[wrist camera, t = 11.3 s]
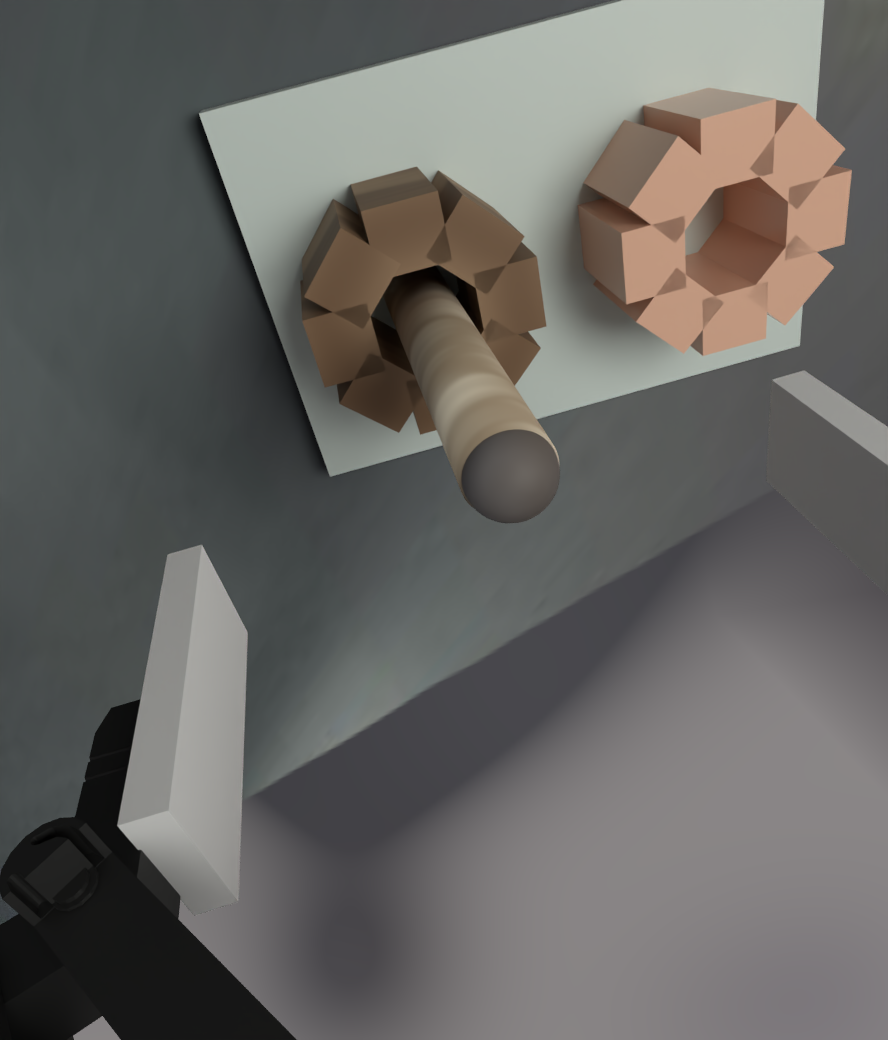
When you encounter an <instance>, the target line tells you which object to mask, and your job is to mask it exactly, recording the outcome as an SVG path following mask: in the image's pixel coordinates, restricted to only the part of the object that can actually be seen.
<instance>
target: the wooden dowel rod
mask: <svg viewBox="0 0 888 1040" xmlns="http://www.w3.org/2000/svg"><path fill="white" fill-rule="evenodd" d="M383 297H384V300H385V302H386V305H387V307H388V310H389V312H390V315H391V317H392V320H393V322H394V325H395V327H396V330H397V332H398V335H399V337H400V340H401V342H402V345H403V347H404V350H405V352H406V355H407V357H408V360H409V362H410V365H411V367H412V370H413V372H414V375H415V377H416V380H417V382H418V385H419V387H420V390H421V392H422V395H423V397H424V400H425V402H426V405H427V407H428V410H429V412H430V415H431V417H432V420H433V422H434V425H435V427H436V430H437V432H438V435H439V437H440V439H441V442H442V444H443V447H444V449H445V452H446V454H447V457H448V459H449V462H450V464H451V467H452V469H453V472H454V474H455V477H456V479H457V482H458V484H459V487H460V489H461V492H462V494H463V496H464V498H465V500H466V501H467V502H468V503H469V504H470V505H471V506H472V507H473V508H474V509H476V510H477V511H478V512H479V513H480V514H482V515H483V516H485V517H487V518H488V519H491V520H494V521H497V522H501V523H519V522H523V521H526V520H529V519H531V518H533V517H535V516H537V515H538V514H540V513H541V512H542V511H543V510H544V509H545V508H546V507H547V506H548V505H549V504H550V502H551V501H552V499H553V498H554V496H555V494H556V491H557V488H558V485H559V479H560V467H559V458H558V454H557V451H556V449H555V447H554V445H553V444H552V442H551V441H550V439H549V438H548V436H547V434H546V433H545V431H544V430H543V428H542V427H541V425H540V424H539V422H538V421H537V419H536V418H535V416H534V415H533V413H532V412H531V410H530V409H529V407H528V406H527V404H526V403H525V401H524V400H523V398H522V396H521V395H520V393H519V392H518V390H517V389H516V387H515V386H514V384H513V383H512V381H511V380H510V378H509V377H508V375H507V374H506V372H505V371H504V369H503V368H502V366H501V365H500V363H499V362H498V360H497V358H496V357H495V355H494V354H493V352H492V351H491V349H490V348H489V346H488V345H487V343H486V342H485V340H484V339H483V337H482V336H481V334H480V333H479V331H478V330H477V328H476V327H475V325H474V324H473V322H472V320H471V319H470V317H469V316H468V314H467V313H466V311H465V310H464V308H463V307H462V305H461V304H460V302H459V301H458V299H457V298H456V296H455V295H454V293H453V292H452V290H451V289H450V287H449V286H448V284H447V282H446V281H445V279H444V278H443V276H442V275H441V273H440V272H439V270H438V269H437V267H436V266H432V267H428V268H424V269H421V270H417V271H413V272H410V273H406V274H402V275H399V276H395V277H393V278H392V280H391V282H390V284H389V285H388V287H387V289H386V291H385V292H384V294H383Z"/></svg>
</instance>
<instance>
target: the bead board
mask: <svg viewBox="0 0 888 1040" xmlns="http://www.w3.org/2000/svg"><path fill="white" fill-rule="evenodd" d="M823 11H824V0H613V1H609V2H606V3H602V4H598V5H594V6H591V7H587V8H583V9H579V10H576V11H572V12H568V13H564V14H561V15H557V16H553V17H549V18H546V19H542V20H538V21H535V22H531V23H527V24H523V25H520V26H516V27H512V28H508V29H505V30H501V31H497V32H493V33H490V34H486V35H482V36H478V37H475V38H471V39H467V40H463V41H460V42H456V43H452V44H448V45H445V46H441V47H437V48H433V49H430V50H426V51H422V52H418V53H415V54H411V55H407V56H403V57H400V58H396V59H392V60H389V61H385V62H381V63H377V64H374V65H370V66H366V67H362V68H359V69H355V70H351V71H347V72H344V73H340V74H336V75H332V76H329V77H325V78H321V79H317V80H314V81H310V82H306V83H302V84H299V85H295V86H291V87H287V88H284V89H280V90H276V91H272V92H269V93H265V94H261V95H257V96H254V97H250V98H246V99H243V100H239V101H235V102H231V103H228V104H224V105H220V106H216V107H213V108H209V109H205V110H202V111H201V112H200V113H199V116H200V118H201V121H202V124H203V127H204V130H205V132H206V135H207V138H208V141H209V143H210V146H211V149H212V152H213V154H214V157H215V160H216V163H217V165H218V168H219V171H220V174H221V177H222V179H223V182H224V185H225V188H226V190H227V193H228V196H229V199H230V201H231V204H232V207H233V210H234V213H235V215H236V218H237V221H238V224H239V226H240V229H241V232H242V235H243V237H244V240H245V243H246V246H247V248H248V251H249V254H250V257H251V260H252V262H253V265H254V268H255V271H256V273H257V276H258V279H259V282H260V284H261V287H262V290H263V293H264V296H265V298H266V301H267V304H268V307H269V309H270V312H271V315H272V318H273V320H274V323H275V326H276V329H277V331H278V334H279V337H280V340H281V343H282V345H283V348H284V351H285V354H286V356H287V359H288V362H289V365H290V367H291V370H292V373H293V376H294V379H295V381H296V384H297V387H298V390H299V392H300V395H301V398H302V401H303V403H304V406H305V409H306V412H307V414H308V417H309V420H310V423H311V426H312V428H313V431H314V434H315V437H316V439H317V442H318V445H319V448H320V450H321V453H322V456H323V459H324V462H325V464H326V467H327V470H328V473H329V475H330V477H331V476H334V475H338V474H341V473H345V472H349V471H352V470H356V469H359V468H363V467H367V466H370V465H374V464H377V463H381V462H385V461H388V460H392V459H395V458H399V457H402V456H406V455H410V454H413V453H417V452H420V451H424V450H428V449H431V448H435V447H438V446H442V445H443V444H442V442H441V439H440V437H439V435H438V432H437V430H435V431H432V432H428V433H425V434H421V435H420V433H419V429H418V426H417V423H416V420H415V417H414V414H413V412H412V413H411V415H410V417H409V418H408V420H407V421H406V423H405V424H404V426H403V428H402V429H401V431H400V432H399V433H398V432H396V431H394V430H392V429H390V428H388V427H386V426H384V425H382V424H379V423H377V422H375V421H373V420H371V419H369V418H367V417H365V416H363V415H361V414H359V413H357V412H355V411H353V410H351V409H349V408H347V407H345V406H343V405H341V404H339V397H338V390H337V384H336V385H333V386H329V387H324V384H323V381H322V378H321V375H320V372H319V369H318V366H317V363H316V360H315V357H314V354H313V351H312V348H311V345H310V342H309V339H308V336H307V333H306V331H305V328H304V325H303V322H302V307H301V287H300V281H301V280H303V272H302V258H303V256H304V254H305V252H306V250H307V248H308V246H309V244H310V242H311V240H312V238H313V236H314V235H315V233H316V231H317V229H318V227H319V225H320V223H321V221H322V219H323V217H324V215H325V213H326V211H327V209H328V207H329V205H330V204H331V202H332V200H333V199H334V200H336V201H338V202H339V203H341V204H343V205H344V206H346V207H347V208H349V209H351V210H352V211H354V212H356V213H357V214H358V211H357V207H356V203H355V200H354V196H353V192H352V188H351V185H350V184H354V183H357V182H361V181H365V180H368V179H372V178H376V177H380V176H383V175H387V174H391V173H394V172H398V171H402V170H405V169H409V168H413V167H418V168H419V170H420V171H421V172H422V173H423V174H424V175H425V176H426V178H427V179H428V180H429V181H430V182H432V180H433V179H434V177H435V175H436V173H437V172H438V170H439V171H440V172H442V173H443V174H445V175H446V176H448V177H449V178H451V179H452V180H454V181H455V182H457V183H458V184H459V185H461V186H462V187H464V188H465V189H467V190H468V191H470V192H471V193H473V194H474V195H476V196H477V197H479V198H480V199H482V200H483V201H484V202H486V203H487V204H489V205H490V206H492V207H493V208H494V209H495V210H497V211H498V212H499V213H500V214H501V215H502V216H503V217H504V218H505V219H506V220H507V221H508V222H510V223H511V224H512V225H513V226H514V227H515V228H516V229H517V230H518V231H519V232H520V233H522V234H523V235H524V236H525V237H524V238H523V240H522V241H521V242H522V243H523V244H524V245H525V246H526V247H527V248H528V249H530V250H531V251H532V252H533V253H534V254H535V255H536V256H537V261H538V268H539V276H540V283H541V290H542V297H543V305H544V312H545V319H546V327H543V328H539V329H535V330H532V331H528V332H529V333H530V335H531V336H532V337H533V338H534V340H535V341H536V342H537V344H538V345H539V346H540V348H541V349H540V350H539V352H538V353H537V355H536V356H535V358H534V359H533V360H532V362H531V363H530V365H529V366H528V368H527V369H526V371H525V372H524V373H523V375H522V376H521V378H520V379H519V381H518V382H517V383H516V385H515V387H516V389H517V390H518V392H519V393H520V395H521V396H522V398H523V400H524V401H525V403H526V404H527V406H528V407H529V409H530V410H531V412H532V413H533V415H534V416H535V418H536V419H539V418H542V417H546V416H550V415H553V414H557V413H560V412H564V411H567V410H571V409H575V408H578V407H582V406H585V405H589V404H593V403H596V402H600V401H603V400H607V399H610V398H614V397H618V396H621V395H625V394H628V393H632V392H636V391H639V390H643V389H646V388H650V387H654V386H657V385H661V384H664V383H668V382H671V381H675V380H679V379H682V378H686V377H689V376H693V375H697V374H700V373H704V372H707V371H711V370H715V369H718V368H722V367H725V366H729V365H732V364H736V363H740V362H743V361H747V360H750V359H754V358H758V357H761V356H765V355H768V354H772V353H775V352H779V351H783V350H786V349H790V348H793V347H797V346H800V334H801V320H802V306H803V305H802V306H801V307H800V309H799V310H798V311H797V312H796V313H795V314H794V316H793V317H792V318H791V319H790V320H789V322H788V323H787V324H786V325H783V324H782V323H780V322H779V321H777V320H775V319H774V318H772V317H770V316H769V315H767V326H766V339H762V340H759V341H755V342H752V343H748V344H744V345H741V346H737V347H734V348H730V349H726V350H723V351H719V352H716V353H712V354H709V355H705V356H702V355H701V354H700V353H699V352H697V351H696V350H695V349H694V348H692V347H691V346H690V347H689V348H688V349H687V351H686V352H685V353H684V354H683V353H682V352H680V351H679V350H677V349H676V348H674V347H673V346H671V345H670V344H668V343H667V342H665V341H664V340H662V339H661V338H659V337H658V336H656V335H655V334H653V333H652V332H650V331H649V330H647V329H646V328H644V327H643V326H641V325H640V324H638V323H637V322H636V321H634V320H633V319H632V318H631V317H630V316H629V315H628V314H626V313H625V312H624V311H623V310H622V309H621V308H620V307H618V306H617V305H616V304H615V303H614V302H613V301H611V300H610V299H609V298H608V297H607V296H606V295H605V294H603V293H602V292H601V291H600V290H599V289H598V288H597V287H595V286H594V285H593V284H594V282H595V281H596V280H597V279H596V278H595V277H593V276H592V275H591V274H590V273H589V272H587V271H586V270H585V269H584V263H583V254H582V244H581V234H580V224H579V215H578V205H580V204H583V203H587V202H591V201H594V200H598V199H602V198H603V197H602V196H600V195H599V194H598V193H596V192H595V191H594V190H592V189H591V188H590V187H588V186H587V185H586V184H584V183H583V182H584V181H585V179H586V178H587V176H588V175H589V173H590V172H591V170H592V168H593V167H594V165H595V164H596V162H597V161H598V159H599V158H600V156H601V155H602V153H603V152H604V150H605V149H606V147H607V146H608V144H609V142H610V141H611V139H612V138H613V136H614V135H615V133H616V132H617V130H618V129H619V127H620V126H621V124H622V123H623V121H624V120H627V121H630V122H633V123H637V124H640V125H643V126H644V110H643V105H646V104H649V103H653V102H657V101H661V100H664V99H668V98H672V97H675V96H679V95H683V94H686V93H690V92H694V91H698V90H701V89H705V88H714V89H720V90H726V91H732V92H739V93H745V94H751V95H757V96H763V97H769V98H775V99H776V100H780V101H786V102H792V103H798V104H799V105H800V106H801V107H802V108H803V109H804V110H805V111H806V112H807V113H809V114H810V115H811V116H812V117H813V118H814V119H815V120H816V109H817V95H818V81H819V67H820V53H821V39H822V25H823ZM722 219H723V187H720V188H717V189H715V190H714V191H713V193H712V194H711V195H710V197H709V198H708V199H707V201H706V202H705V204H704V205H703V206H702V208H701V209H700V210H699V212H698V213H697V215H696V216H695V217H694V219H693V220H692V221H691V223H690V224H689V225H688V227H687V228H686V230H685V256H686V255H689V254H693V253H696V252H698V251H699V250H700V249H701V247H702V246H703V245H704V243H705V242H706V241H707V239H708V238H709V237H710V235H711V234H712V233H713V231H714V230H715V229H716V227H717V226H718V225H719V223H720V222H721V221H722ZM435 266H436V267H437V269H438V270H439V272H440V273H441V275H442V276H443V278H444V279H445V281H446V282H447V284H448V286H449V287H450V289H451V290H452V292H453V293H454V295H455V296H456V295H457V293H458V292H459V288H458V284H457V279H456V275H454V274H452V273H451V272H449V271H448V270H446V269H444V268H443V267H441V266H439V265H435ZM371 316H372V317H374V318H376V319H378V320H379V321H381V322H383V323H385V324H387V325H388V326H390V327H392V328H394V329H396V327H395V325H394V322H393V320H392V317H391V315H390V312H389V310H388V307H387V305H386V302H385V300H384V297H383V296H382V297H381V299H380V301H379V303H378V304H377V306H376V308H375V310H374V311H373V313H372V315H371Z"/></svg>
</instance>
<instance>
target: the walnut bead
mask: <svg viewBox="0 0 888 1040" xmlns="http://www.w3.org/2000/svg"><path fill="white" fill-rule="evenodd" d="M350 185H351V188H352V192H353V196H354V200H355V203H356V207H357V211H358V214H357V213H356V212H354V211H352V210H351V209H349V208H347V207H346V206H344V205H343V204H341V203H339V202H338V201H336V200H334V199H333V200H332V202H331V204H330V205H329V207H328V209H327V211H326V213H325V215H324V217H323V219H322V221H321V223H320V225H319V227H318V229H317V231H316V233H315V235H314V236H313V238H312V240H311V242H310V244H309V246H308V248H307V250H306V252H305V254H304V256H303V258H302V272H303V280H301V281H300V287H301V307H302V322H303V325H304V328H305V331H306V333H307V336H308V339H309V342H310V345H311V348H312V351H313V354H314V357H315V360H316V363H317V366H318V369H319V372H320V375H321V378H322V381H323V384H324V387H329V386H333V385H336V384H337V390H338V397H339V404H341V405H343V406H345V407H347V408H349V409H351V410H353V411H355V412H357V413H359V414H361V415H363V416H365V417H367V418H369V419H371V420H373V421H375V422H377V423H379V424H382V425H384V426H386V427H388V428H390V429H392V430H394V431H396V432H398V433H399V432H400V431H401V429H402V428H403V426H404V424H405V423H406V421H407V420H408V418H409V417H410V415H411V413H412V412H413V414H414V417H415V420H416V423H417V426H418V429H419V433H420V435H421V434H425V433H428V432H432V431H435V430H436V427H435V425H434V422H433V420H432V417H431V415H430V412H429V410H428V407H427V405H426V402H425V400H424V397H423V395H422V392H421V390H420V387H419V385H418V382H417V380H416V377H415V375H414V372H413V370H412V367H411V365H410V362H409V360H408V357H407V355H406V352H405V350H404V347H403V345H402V342H401V340H400V337H399V335H398V332H397V330H396V329H394V328H392V327H390V326H388V325H387V324H385V323H383V322H381V321H379V320H378V319H376V318H374V317H372V316H371V315H372V313H373V311H374V310H375V308H376V306H377V304H378V303H379V301H380V299H381V297H382V296H383V294H384V292H385V291H386V289H387V287H388V285H389V284H390V282H391V280H392V278H393V277H395V276H399V275H402V274H406V273H410V272H413V271H417V270H421V269H424V268H428V267H432V266H435V265H439V266H441V267H443V268H444V269H446V270H448V271H449V272H451V273H452V274H454V275H456V279H457V284H458V288H459V292H458V293H457V295H456V298H457V299H458V301H459V302H460V304H461V305H462V307H463V308H464V310H465V311H466V313H467V314H468V316H469V317H470V319H471V320H472V322H473V324H474V325H475V327H476V328H477V330H478V331H479V333H480V334H481V336H482V337H483V339H484V340H485V342H486V343H487V345H488V346H489V348H490V349H491V351H492V352H493V354H494V355H495V357H496V358H497V360H498V362H499V363H500V365H501V366H502V368H503V369H504V371H505V372H506V374H507V375H508V377H509V378H510V380H511V381H512V383H513V384H514V386H515V385H516V383H517V382H518V381H519V379H520V378H521V376H522V375H523V373H524V372H525V371H526V369H527V368H528V366H529V365H530V363H531V362H532V360H533V359H534V358H535V356H536V355H537V353H538V352H539V350H540V349H541V348H540V346H539V345H538V344H537V342H536V341H535V340H534V338H533V337H532V336H531V335H530V333H529V332H528V331H532V330H535V329H539V328H543V327H546V319H545V312H544V305H543V297H542V290H541V283H540V276H539V268H538V261H537V256H536V255H535V254H534V253H533V252H532V251H531V250H530V249H528V248H527V247H526V246H525V245H524V244H523V243H522V242H521V241H522V240H523V238H524V237H525V236H524V235H523V234H522V233H520V232H519V231H518V230H517V229H516V228H515V227H514V226H513V225H512V224H511V223H510V222H508V221H507V220H506V219H505V218H504V217H503V216H502V215H501V214H500V213H499V212H498V211H497V210H495V209H494V208H493V207H492V206H490V205H489V204H487V203H486V202H484V201H483V200H482V199H480V198H479V197H477V196H476V195H474V194H473V193H471V192H470V191H468V190H467V189H465V188H464V187H462V186H461V185H459V184H458V183H457V182H455V181H454V180H452V179H451V178H449V177H448V176H446V175H445V174H443V173H442V172H440V171H439V170H438V172H437V173H436V175H435V177H434V179H433V180H432V182H430V181H429V180H428V179H427V178H426V176H425V175H424V174H423V173H422V172H421V171H420V170H419V168H418V167H413V168H409V169H405V170H402V171H398V172H394V173H391V174H387V175H383V176H380V177H376V178H372V179H368V180H365V181H361V182H357V183H354V184H350Z"/></svg>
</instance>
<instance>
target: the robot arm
mask: <svg viewBox="0 0 888 1040" xmlns="http://www.w3.org/2000/svg"><path fill="white" fill-rule="evenodd" d="M766 481H767V482H768V483H769V484H771V485H772V486H773V487H774V488H775V489H776V490H777V491H778V492H779V493H780V494H781V495H782V496H783V497H784V498H786V500H787V501H788V502H790V503H791V504H792V505H793V506H794V507H795V508H796V509H797V510H798V511H799V512H800V513H801V514H802V515H804V517H805V518H806V519H808V521H810V522H811V523H812V524H813V525H814V526H815V527H816V528H817V529H818V530H819V531H820V532H821V533H822V534H823V535H824V536H825V537H827V538H828V539H829V540H830V541H831V542H832V543H833V544H834V545H835V546H836V547H837V548H838V549H839V550H840V551H841V552H842V553H843V554H844V555H845V556H846V557H848V558H849V559H850V560H851V561H852V562H853V563H854V564H855V565H856V566H857V567H858V568H859V569H860V570H861V571H862V572H863V573H864V574H865V575H867V576H868V577H869V578H870V579H871V580H872V581H873V582H874V583H875V584H876V585H877V586H878V587H879V588H880V589H881V590H882V591H884V593H886V594H887V595H888V427H887V426H886V425H884V424H883V423H881V422H880V421H878V420H877V419H875V418H874V417H872V416H871V415H869V414H868V413H866V412H865V411H863V410H862V409H860V408H859V407H857V406H856V405H854V404H853V403H851V402H850V401H849V400H847V399H846V398H844V397H843V396H841V395H840V394H838V393H837V392H835V391H834V390H832V389H831V388H829V387H828V386H826V385H825V384H823V383H822V382H820V381H819V380H817V379H816V378H814V377H813V376H812V375H810V374H809V373H807V372H806V371H801V372H797V373H794V374H790V375H787V376H784V377H780V378H777V379H773V380H772V386H771V403H770V421H769V439H768V456H767V474H766ZM247 637H248V632H247V630H246V629H245V627H244V625H243V623H242V621H241V619H240V617H239V615H238V613H237V611H236V609H235V607H234V605H233V604H232V602H231V600H230V598H229V596H228V594H227V592H226V590H225V588H224V586H223V584H222V582H221V581H220V579H219V577H218V575H217V573H216V571H215V569H214V567H213V565H212V563H211V561H210V559H209V557H208V556H207V554H206V552H205V550H204V548H203V546H202V545H199V546H195V547H192V548H188V549H185V550H181V551H178V552H174V553H171V554H168V555H167V560H166V566H165V571H164V576H163V582H162V587H161V593H160V598H159V603H158V609H157V614H156V619H155V625H154V630H153V636H152V641H151V646H150V652H149V657H148V663H147V668H146V673H145V679H144V684H143V690H142V695H141V699H140V700H137V701H133V702H130V703H127V704H123V705H120V706H116V707H113V708H111V709H110V711H109V712H108V714H107V715H106V717H105V719H104V720H103V722H102V723H101V725H100V726H99V728H98V730H97V731H96V733H95V736H94V741H93V745H92V749H91V753H90V757H89V758H90V762H88V766H87V770H86V774H85V780H86V782H84V783H83V786H82V791H81V795H80V799H79V803H78V807H77V811H76V816H75V817H71V818H58V819H56V820H53V821H51V822H48V823H46V824H43V825H41V826H40V827H39V828H37V829H36V830H34V831H33V832H32V833H30V834H29V835H27V836H26V837H25V838H24V839H23V840H22V841H21V842H20V843H19V844H18V845H17V847H16V848H15V849H14V850H13V851H12V852H11V854H10V855H9V857H8V859H7V861H6V862H5V864H4V866H3V868H2V870H1V875H0V893H1V896H2V899H3V900H4V901H5V902H6V903H7V904H9V905H10V906H11V907H12V908H13V909H14V910H15V911H17V912H18V913H19V914H18V915H16V916H14V917H13V918H11V919H10V920H8V921H6V922H5V923H3V924H1V925H0V1040H74V1038H73V1035H75V1034H76V1033H77V1032H79V1031H80V1030H82V1029H83V1028H85V1027H86V1026H88V1025H89V1024H91V1023H92V1022H94V1021H95V1020H97V1019H98V1018H100V1017H101V1016H103V1017H104V1018H105V1020H106V1021H107V1022H108V1024H109V1025H110V1026H111V1027H112V1029H113V1030H114V1031H115V1033H116V1034H117V1035H118V1036H119V1038H120V1039H121V1040H296V1039H295V1038H294V1037H293V1036H292V1035H291V1034H290V1033H289V1031H287V1029H286V1028H285V1027H284V1026H282V1024H281V1023H280V1022H279V1021H278V1020H277V1019H276V1018H275V1017H274V1016H273V1015H272V1014H271V1013H270V1012H269V1011H268V1010H267V1009H266V1008H265V1007H264V1006H263V1005H262V1004H261V1003H260V1002H259V1001H258V1000H257V999H256V998H255V997H254V996H253V995H252V994H251V993H250V992H249V991H248V990H247V989H246V988H245V987H244V986H243V985H242V984H241V983H240V982H239V981H238V980H237V979H236V978H235V977H234V976H233V975H232V974H231V973H230V971H228V970H227V968H226V967H224V965H223V964H222V963H221V962H220V961H218V959H217V958H216V957H215V956H214V955H213V954H212V953H211V952H210V951H209V950H208V949H207V948H206V947H205V946H204V945H203V944H202V943H201V942H200V941H199V940H198V939H197V938H196V937H195V936H194V935H193V934H192V933H191V932H190V931H189V930H188V929H187V928H186V927H185V926H184V925H183V924H182V923H181V922H180V921H179V920H178V917H179V906H180V900H181V901H182V902H183V903H184V904H185V906H186V907H187V908H188V909H189V910H190V911H191V913H192V914H193V915H198V914H201V913H204V912H207V911H211V910H214V909H217V908H220V907H224V906H227V905H230V904H233V903H237V902H238V901H239V873H240V841H241V814H242V784H243V755H244V726H245V696H246V667H247Z"/></svg>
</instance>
